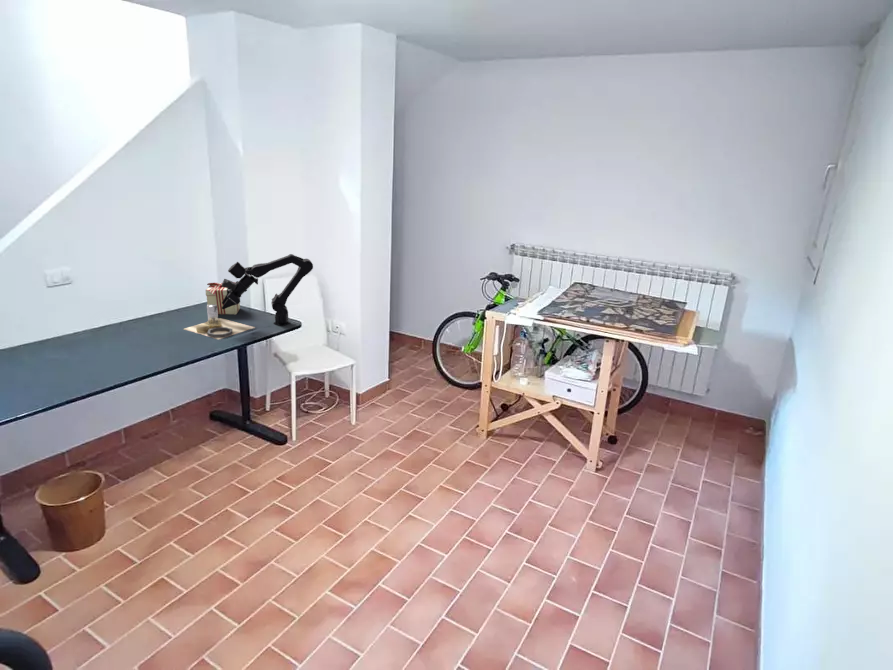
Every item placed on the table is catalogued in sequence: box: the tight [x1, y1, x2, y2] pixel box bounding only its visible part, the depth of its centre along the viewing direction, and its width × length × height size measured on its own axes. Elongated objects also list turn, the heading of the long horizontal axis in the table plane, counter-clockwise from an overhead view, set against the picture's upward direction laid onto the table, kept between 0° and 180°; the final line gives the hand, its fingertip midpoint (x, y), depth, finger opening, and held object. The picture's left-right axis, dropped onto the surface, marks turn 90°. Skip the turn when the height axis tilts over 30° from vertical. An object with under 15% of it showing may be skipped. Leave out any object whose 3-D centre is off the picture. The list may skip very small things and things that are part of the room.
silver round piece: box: [204, 304, 222, 328], centre depth 285 cm, size 8×8×11 cm
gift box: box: [205, 281, 241, 316], centre depth 309 cm, size 17×18×17 cm
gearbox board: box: [184, 317, 256, 342], centre depth 284 cm, size 23×26×4 cm
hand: (222, 306), depth 285 cm, fingers open, 9 cm apart
